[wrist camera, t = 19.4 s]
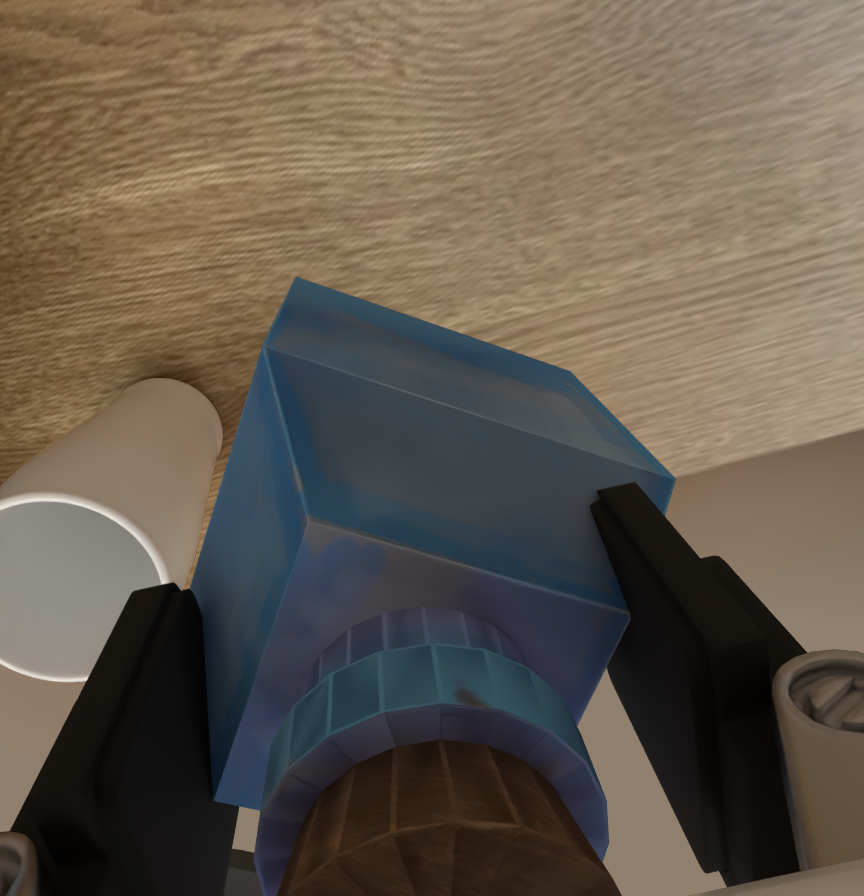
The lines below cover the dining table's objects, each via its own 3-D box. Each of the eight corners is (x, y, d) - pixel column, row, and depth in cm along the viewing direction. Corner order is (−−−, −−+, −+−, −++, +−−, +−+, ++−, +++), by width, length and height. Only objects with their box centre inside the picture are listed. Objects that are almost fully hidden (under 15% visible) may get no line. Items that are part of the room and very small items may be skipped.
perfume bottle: (216, 538, 18) (-11, 1163, 7) (295, 276, 16) (161, 550, 5) (469, 606, 19) (627, 1234, 8) (570, 371, 17) (953, 761, 6)
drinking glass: (73, 373, 37) (-100, 515, 23) (219, 346, 37) (135, 470, 23) (119, 505, 39) (-12, 705, 25) (255, 479, 39) (200, 664, 25)
